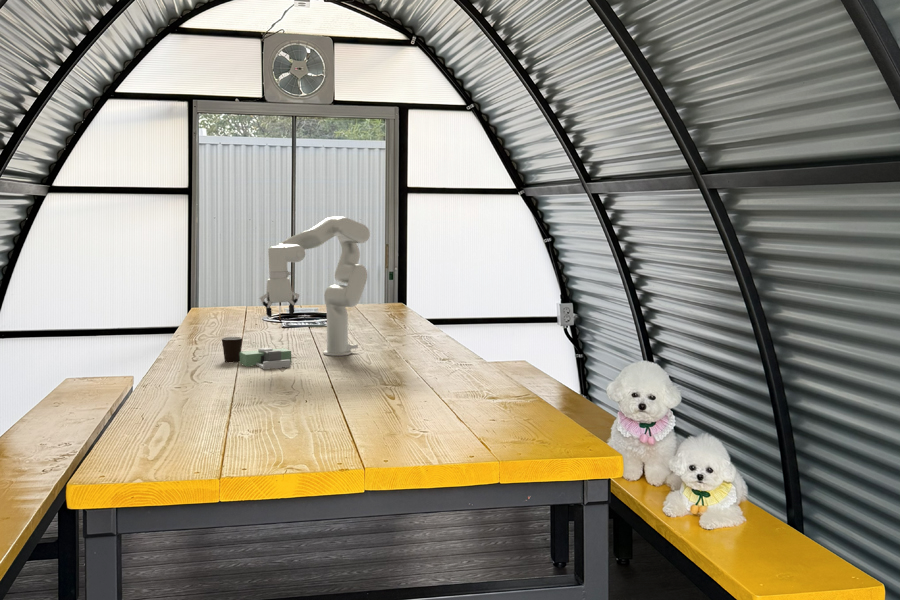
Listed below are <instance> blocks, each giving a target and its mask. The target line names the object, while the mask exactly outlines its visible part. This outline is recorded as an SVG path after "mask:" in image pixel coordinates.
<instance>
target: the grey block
mask: <svg viewBox="0 0 900 600" xmlns="http://www.w3.org/2000/svg"><path fill="white" fill-rule="evenodd" d="M278 360H281V351H280V350H274V351H264V362H267V361H278Z"/></svg>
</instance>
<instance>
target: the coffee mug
mask: <svg viewBox="0 0 900 600" xmlns="http://www.w3.org/2000/svg"><path fill="white" fill-rule="evenodd" d="M221 343H222V352H223V359H224V363H229V362H233V363H239V362H240V352H242V347H243V346H242V345H243V337H241V336H227V337H222V338H221ZM238 361H239V362H238Z"/></svg>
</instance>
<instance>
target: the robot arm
mask: <svg viewBox="0 0 900 600" xmlns="http://www.w3.org/2000/svg"><path fill="white" fill-rule="evenodd" d="M370 232H371V231H370V229H369V228H368V227H367V226H366V225H365V224H363V223H361V222H358V221H356V220H353V219H351V218H348V217H345V216H330V217H326V218H325V219H323V220H322V221H320V222H319V223H317V224H316V225H314V226H313V227H311V228H309V229H307V230H304V231H303V232H300V233H297V234H294V235H292V236H290V237H288V238H287V239H284V240H283V241H282V242H280V243H279V244H278V245H273V246H270V247H269V248H268V251H267V252H268V255H267V256H268V271H269V272H268V273H269V278H267V281H266V293H265V294H263V295H262V296H260V297H259V298H258V299H259V301H260V302H261V304H262V305H263V306H264V307H265V310H266V311H265V312H266V313H265V314H266V316H267V317H269V318H272V315H273V313H272V305H273V304H277V303H278V304H279V303H286V302H287V303H289V305H288V313H289V315H290V316H293V315H294V313H295V305H296V303H297V302H298V299H299V298H300V293H296V292H295V291H293V289H292V285H291V280H290V278H289V276H291V275H292V274H291V273H292V272H291V271H288V263H299V262H302V261H303V260H304V259H305V258H306V250H311V249H315V248H318V247H319V248H320V246H322V245H324V244H325V243H326V242H328V241H330V240H331V239H332V238H334V237H337V239H338V241H339V243H340V245H341V254H340V256H339V260H338V263H337V266H336V269H335V272H334V279H335V281H336V282H337V283H340V284H331V285H329V286H328V287H326V289H325V290H324V294H323V298H324V303H325V310H326V349H325V350H323V354H324V355H325V356H334V357H337V356H338V357H339V356H348V355H351V354H352V349H358V347H359V345H358V344H351V343H349V329H348V327H349V323H348V321H349V317H348V311H347V308H354V307H356V306H357V305H359V303H360V301H361V298H362V295H363V293H364V290H365V286H366V284H367V280H368V271H367V269H366V267H365V266H364V265H363V264H361V263H359V261H360V258H361V254H360V249H359V247H358V244H364V243H366V242H368V240H369V239H370V236H371V233H370ZM342 284H343V285H342ZM344 284H345V285H344ZM293 296H294V298H293ZM265 299H266V301H265Z"/></svg>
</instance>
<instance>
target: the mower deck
mask: <svg viewBox="0 0 900 600" xmlns="http://www.w3.org/2000/svg"><path fill="white" fill-rule="evenodd" d="M274 350H280V351H281V360H278V361H267V362H264V351H274ZM240 363H241V364H240ZM291 363H292V350H290V349H287V348H285V347H282V348H272V347H261V348H258V349H257V350H246V351H241V352H240V361H239V364H240V365H242V364H243V365H242V366H244V365H245V367H252V366H251V365H257V366H256V367H258V366H259V367H258V368H260V367H261V368H260V369H262V368H263V369H262V370H270V369H269V368H275V369H283V368H282V367H285V368H291Z"/></svg>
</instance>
